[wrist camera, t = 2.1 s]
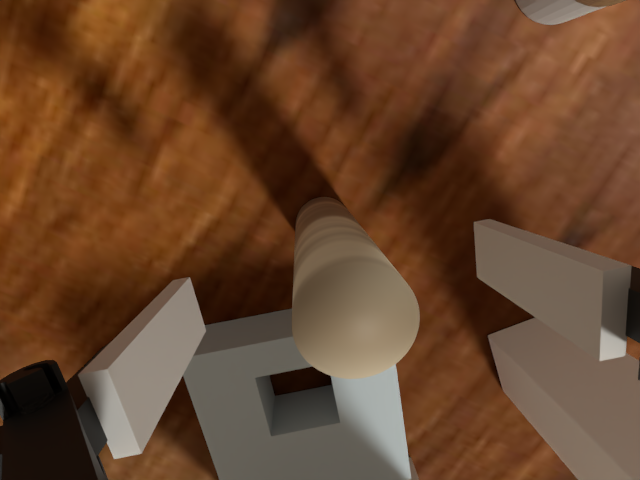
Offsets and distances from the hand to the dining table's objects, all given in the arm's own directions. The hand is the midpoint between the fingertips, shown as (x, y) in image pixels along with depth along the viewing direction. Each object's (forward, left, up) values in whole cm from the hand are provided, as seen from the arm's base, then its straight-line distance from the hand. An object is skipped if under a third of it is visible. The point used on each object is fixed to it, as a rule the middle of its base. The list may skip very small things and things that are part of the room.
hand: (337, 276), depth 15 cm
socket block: (+13, -4, -9) cm, 16 cm away
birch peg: (0, 0, -9) cm, 9 cm away
